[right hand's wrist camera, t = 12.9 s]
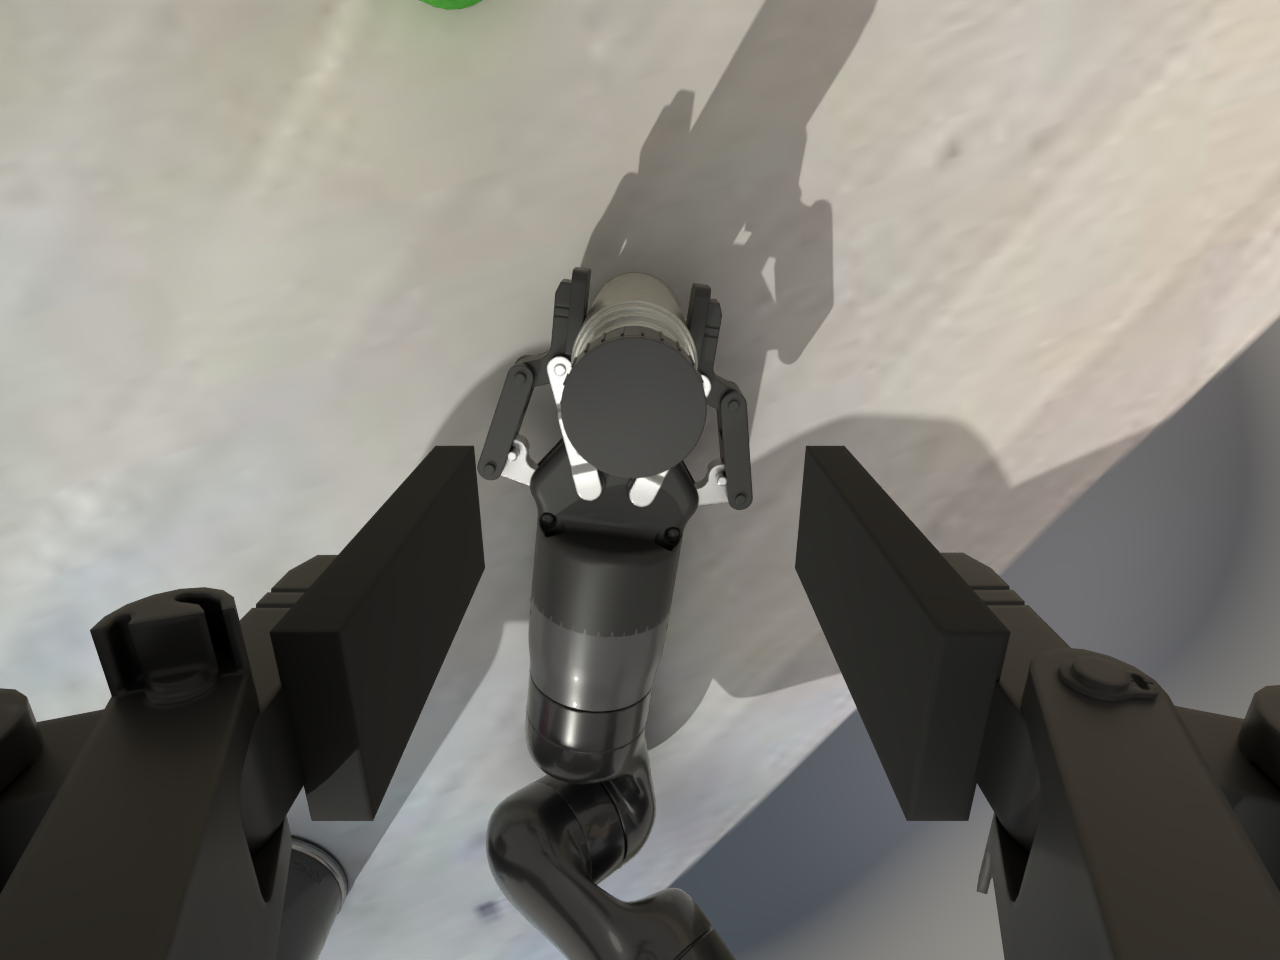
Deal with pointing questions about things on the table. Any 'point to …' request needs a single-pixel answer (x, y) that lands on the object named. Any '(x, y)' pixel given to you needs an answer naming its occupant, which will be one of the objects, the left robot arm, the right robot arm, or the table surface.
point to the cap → (633, 403)
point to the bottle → (635, 312)
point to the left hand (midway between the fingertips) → (641, 279)
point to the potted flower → (451, 3)
